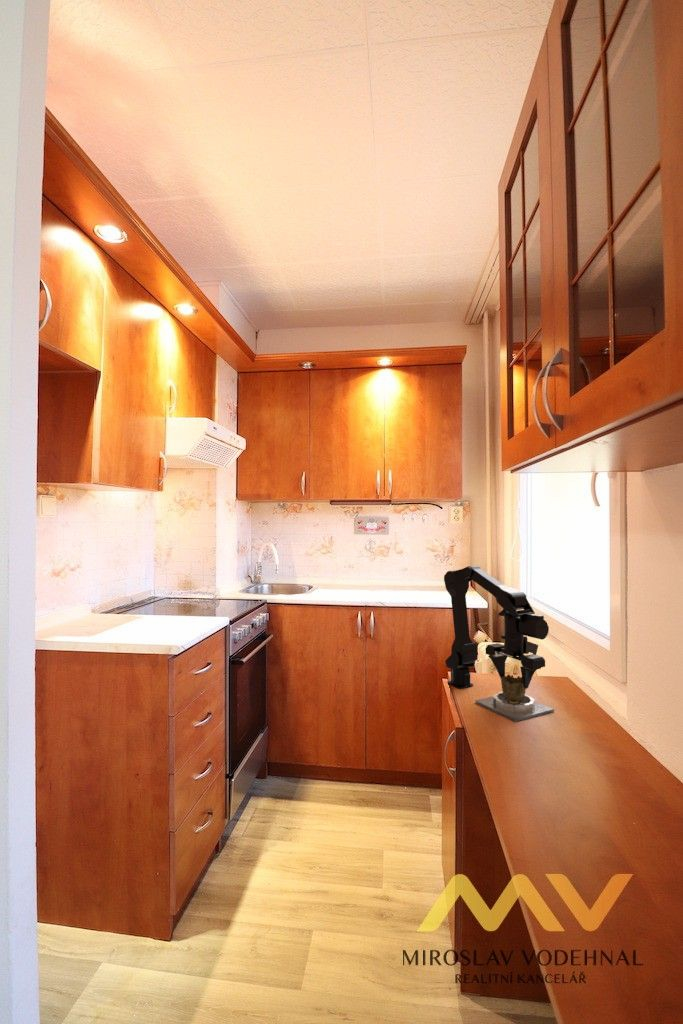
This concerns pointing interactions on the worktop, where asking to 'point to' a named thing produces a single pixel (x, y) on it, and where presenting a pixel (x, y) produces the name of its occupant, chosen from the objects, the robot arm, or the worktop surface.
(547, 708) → the cup bracket
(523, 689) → the cup
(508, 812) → the worktop surface
